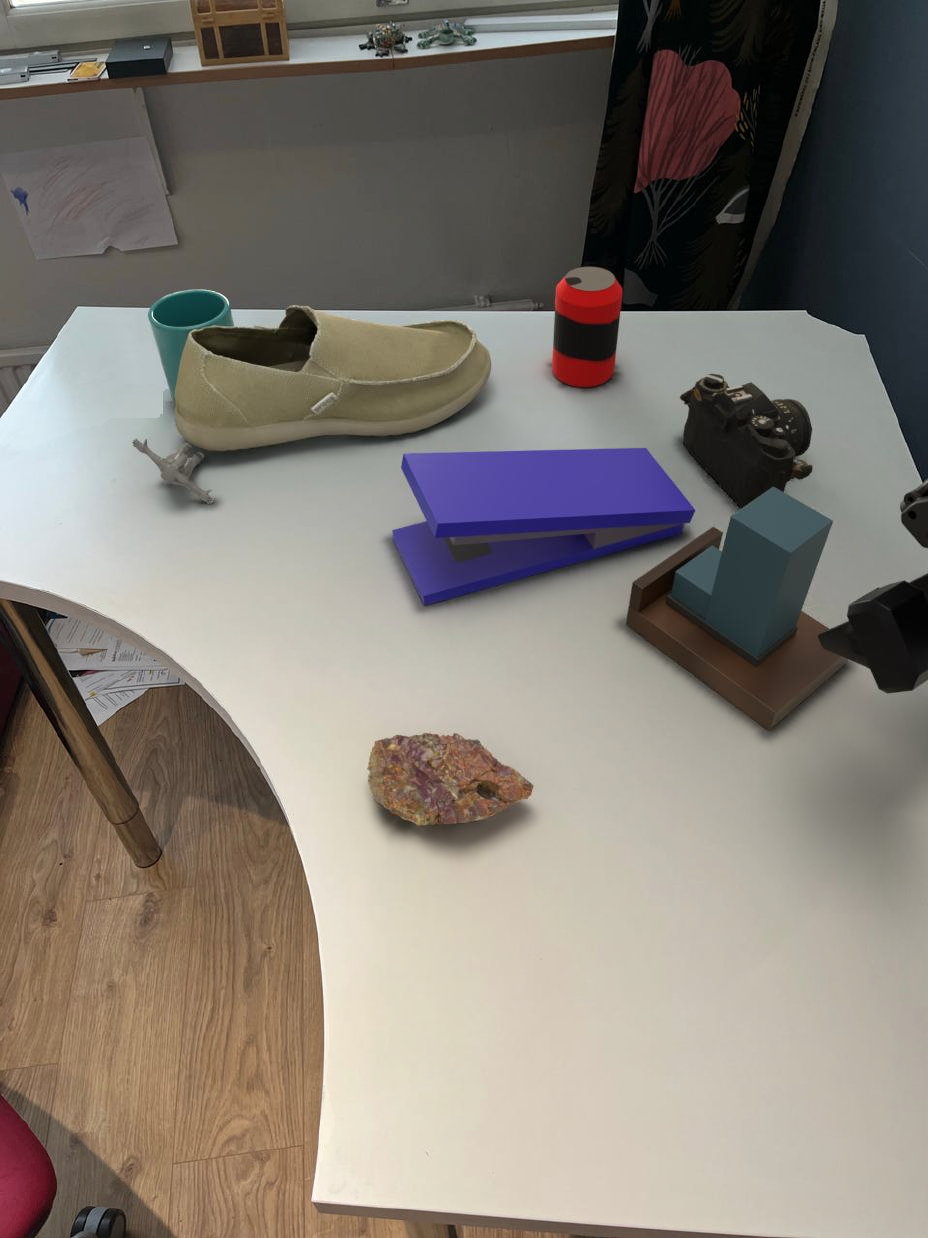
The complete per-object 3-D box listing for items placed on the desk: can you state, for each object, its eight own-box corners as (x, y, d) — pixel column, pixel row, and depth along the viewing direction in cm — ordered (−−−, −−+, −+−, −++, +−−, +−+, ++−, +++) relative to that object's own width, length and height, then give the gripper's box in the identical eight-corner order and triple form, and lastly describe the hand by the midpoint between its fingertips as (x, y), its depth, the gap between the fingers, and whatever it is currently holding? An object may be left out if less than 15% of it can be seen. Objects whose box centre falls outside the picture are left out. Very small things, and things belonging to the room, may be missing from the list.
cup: (251, 358, 117) (233, 274, 109) (246, 412, 109) (226, 325, 101) (179, 364, 117) (156, 279, 109) (168, 418, 109) (142, 331, 100)
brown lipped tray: (846, 663, 81) (864, 621, 77) (768, 731, 76) (784, 689, 72) (703, 568, 90) (713, 525, 86) (625, 624, 85) (632, 581, 81)
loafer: (510, 413, 108) (515, 313, 99) (193, 485, 99) (166, 382, 89) (466, 354, 117) (467, 257, 108) (171, 415, 107) (145, 314, 98)
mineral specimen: (504, 714, 76) (518, 705, 70) (525, 807, 75) (542, 806, 68) (360, 745, 74) (361, 738, 68) (379, 841, 73) (382, 843, 66)
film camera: (849, 482, 98) (878, 402, 91) (776, 533, 93) (800, 453, 85) (717, 409, 107) (734, 331, 100) (644, 452, 102) (656, 373, 95)
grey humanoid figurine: (244, 463, 103) (222, 490, 95) (214, 501, 105) (189, 530, 97) (169, 403, 100) (139, 425, 92) (139, 443, 102) (108, 468, 94)
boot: (796, 634, 80) (836, 521, 71) (755, 667, 78) (792, 554, 68) (705, 574, 86) (731, 461, 76) (665, 603, 83) (687, 490, 74)
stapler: (391, 535, 94) (382, 457, 87) (638, 471, 100) (649, 393, 93) (427, 612, 86) (421, 534, 79) (691, 537, 93) (708, 458, 85)
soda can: (543, 360, 115) (547, 268, 106) (600, 350, 117) (609, 258, 108) (563, 393, 110) (569, 299, 102) (623, 382, 112) (634, 288, 103)
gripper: (1095, 407, 59) (892, 481, 73) (925, 497, 51) (732, 561, 65) (1164, 566, 59) (948, 610, 73) (1005, 683, 51) (795, 707, 65)
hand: (860, 618), depth 69 cm, fingers open, 9 cm apart
